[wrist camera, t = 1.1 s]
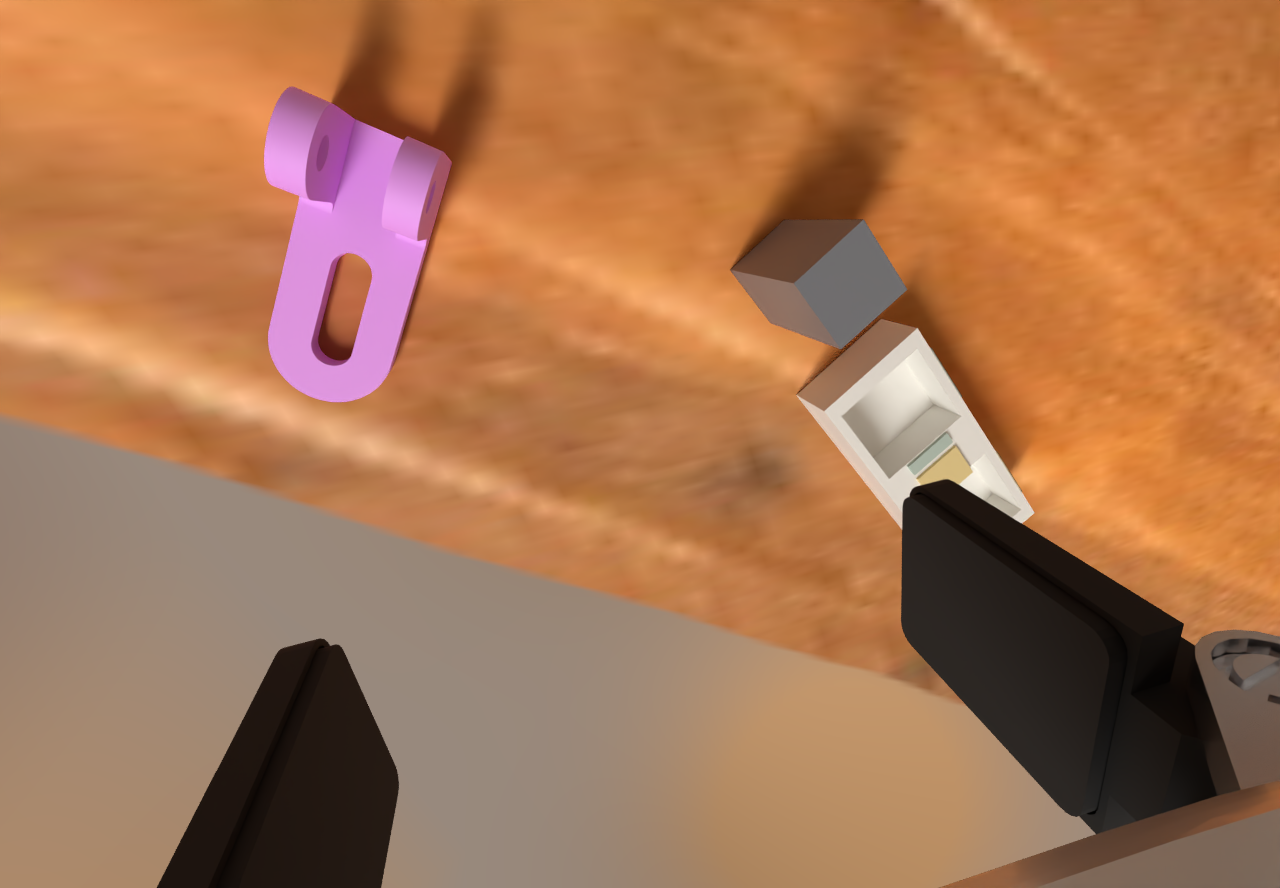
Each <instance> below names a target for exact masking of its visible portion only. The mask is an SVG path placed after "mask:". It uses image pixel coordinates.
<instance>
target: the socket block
mask: <svg viewBox="0 0 1280 888" xmlns="http://www.w3.org/2000/svg"><path fill="white" fill-rule="evenodd" d="M797 397H798V398H799V399H800V400H801V402H802V403H803V404H804V406H805V407H806V408H807V409H808V411H809V412H810V413H811V414H812V416H813V417H814V418H815V420H816V421H817V422H818V423H819V425H820V426H821V427H822V428H823V430H824V431H825V432H826V434H827V435H828V436H829V437H830V439H831V440H832V441H833V442H834V444H835V445H836V446H837V448H838V449H839V450H840V451H841V453H842V454H843V455H844V456H845V458H846V459H847V460H848V462H849V463H850V464H851V465H852V467H853V468H854V469H855V470H856V472H857V473H858V474H859V476H860V477H861V478H862V479H863V481H864V482H865V483H866V484H867V486H868V487H869V488H870V490H871V491H872V492H873V493H874V495H875V496H876V497H877V498H878V500H879V501H880V502H881V504H882V505H883V506H884V507H885V509H886V510H887V511H888V512H889V514H890V515H891V516H892V518H893V519H894V520H895V521H896V523H897V524H898V525H899V526H900V528H901V529H902V507H903V502H904V500H905V499H906V498H907V497H909V496H910V492H911V490H912V489H913V488H914V487H916V486H920V485H924V484H928V483H932V482H935V481H939V480H943V479H949V480H951V481H954V482H955V483H957V484H959V485H960V486H962V487H963V488H965V489H967V490H968V491H970V492H972V493H973V494H975V495H976V496H978V497H980V498H981V499H983V500H984V501H986V502H988V503H989V504H991V505H993V506H994V507H996V508H997V509H999V510H1001V511H1002V512H1004V513H1005V514H1007V515H1009V516H1010V517H1012V518H1014V519H1015V520H1017V521H1018V522H1020V523H1023V522H1024V521H1025V520H1027V519H1028V518H1029V517H1030V516H1031V515H1033V514H1034V511H1033V510H1032V508H1031V506H1030V505H1029V503H1028V502H1027V500H1026V499H1025V497H1024V495H1023V494H1022V490H1021V489H1020V487H1019V485H1018V484H1017V482H1016V481H1015V479H1014V478H1013V476H1012V474H1011V473H1010V471H1009V470H1008V468H1007V466H1006V465H1005V463H1004V462H1003V460H1002V459H1001V457H1000V455H999V454H998V452H997V451H995V450H994V448H993V446H992V445H991V443H990V442H989V440H988V439H987V437H986V435H985V434H984V432H983V431H982V429H981V428H980V426H979V424H978V423H977V421H976V420H975V418H974V417H973V415H972V413H971V412H970V410H969V409H968V407H967V405H966V404H965V402H964V401H963V399H962V398H961V397H962V395H961V394H960V392H959V391H958V389H957V388H956V386H955V384H954V383H953V381H952V380H951V378H950V376H949V375H948V373H947V372H946V370H945V369H944V367H943V365H942V364H941V362H940V361H939V359H938V357H937V356H936V354H935V353H934V351H933V350H932V348H930V347H929V346H928V344H927V342H926V341H925V339H924V338H923V336H922V335H921V333H920V331H919V330H918V328H915V327H911V326H907V325H903V324H899V323H895V322H891V321H887V320H884V319H880V320H879V321H878V322H877V323H876V324H875V325H874V326H873V327H871V328H870V329H869V330H868V331H867V332H866V333H865V334H864V335H862V336H861V337H860V338H859V339H858V340H857V341H856V342H855V343H854V344H852V345H851V346H850V347H849V348H848V349H847V350H846V351H845V352H844V353H842V354H841V355H840V356H839V357H838V358H837V359H836V360H835V361H834V362H832V363H831V364H830V365H829V366H828V367H827V368H826V369H825V370H824V371H822V372H821V373H820V374H819V375H818V376H817V377H816V378H815V379H814V380H812V381H811V382H810V383H809V384H808V385H807V386H806V387H805V388H804V389H802V390H801V391H800V392H799V393H798V394H797Z"/></svg>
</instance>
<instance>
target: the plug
mask: <svg viewBox="0 0 1280 888" xmlns="http://www.w3.org/2000/svg"><path fill="white" fill-rule="evenodd" d="M731 272H732V273H733V274H734V276H735V277H736V278H737V280H738V281H739V282H740V284H741V285H742V286H743V288H744V289H745V290H746V292H747V293H748V294H749V295H750V297H751V298H752V299H753V301H754V302H755V303H756V305H757V306H758V307H759V309H760V310H761V311H762V313H763V314H764V315H765V317H766V318H767V319H768V321H769V322H770V323H772V324H775V325H777V326H780V327H783V328H785V329H788V330H791V331H793V332H796V333H799V334H801V335H804V336H807V337H809V338H812V339H815V340H817V341H820V342H823V343H825V344H828V345H830V346H833V347H836V348H838V349H842V348H843V347H844V346H845V345H846V344H847V343H849V342H850V341H851V340H852V339H853V338H854V337H855V336H856V335H857V334H859V333H860V332H861V331H862V330H863V329H864V328H865V327H866V326H867V325H869V324H870V323H871V322H872V321H873V320H874V319H875V318H876V317H877V316H879V315H880V314H881V313H882V312H883V311H884V310H885V309H886V308H887V307H889V306H890V305H891V304H892V303H893V302H894V301H895V300H896V299H897V298H899V297H900V296H901V295H902V294H903V293H904V292H905V291H906V290H907V288H906V287H905V285H904V283H903V282H902V280H901V279H900V277H899V275H898V274H897V272H896V271H895V269H894V267H893V266H892V264H891V263H890V261H889V259H888V258H887V256H886V255H885V253H884V251H883V250H882V248H881V246H880V245H879V243H878V242H877V240H876V238H875V237H874V235H873V234H872V232H871V230H870V229H869V227H868V226H867V224H866V222H865V221H864V219H844V220H783V221H782V222H781V223H780V224H779V225H778V226H777V227H776V228H775V229H774V230H773V231H772V232H771V233H769V234H768V235H767V236H766V237H765V238H764V239H763V240H762V241H761V242H760V243H759V244H758V245H757V246H755V247H754V248H753V249H752V250H751V251H750V252H749V253H748V254H747V255H746V256H745V257H744V258H743V259H741V260H740V261H739V262H738V263H737V264H736V265H735V266H734V267H733V268H732V269H731Z"/></svg>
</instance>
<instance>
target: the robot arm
mask: <svg viewBox="0 0 1280 888" xmlns="http://www.w3.org/2000/svg"><path fill="white" fill-rule="evenodd" d="M901 623H902V629H903V632H904V634H905V637H906V638H907V640H908V642H909V643H910V644H911V646H912V647H913V648H914V649H915V650H916V651H917V652H918V653H919V654H920V655H921V656H922V657H923V659H924V660H925V661H926V662H927V663H928V664H929V665H930V666H931V667H932V668H933V669H934V671H935V672H936V673H937V674H938V675H939V676H940V677H941V678H942V679H943V680H944V681H945V682H946V684H947V685H948V686H949V687H950V688H951V689H952V690H953V691H954V692H955V693H956V694H957V696H958V697H959V698H960V699H961V700H962V701H963V702H964V703H965V704H966V705H967V706H968V708H969V709H970V710H971V711H972V712H973V713H974V714H975V715H976V716H977V717H978V718H979V719H980V720H981V722H982V723H983V724H984V725H985V726H986V727H987V728H988V729H989V730H990V731H991V733H992V734H993V735H994V736H995V737H996V738H997V739H998V740H999V741H1000V742H1001V743H1002V744H1003V746H1004V747H1005V748H1006V749H1007V750H1008V751H1009V752H1010V753H1011V754H1012V755H1013V756H1014V758H1015V759H1016V760H1017V761H1018V762H1019V763H1020V764H1021V765H1022V766H1023V767H1024V768H1025V769H1026V770H1027V772H1028V773H1029V774H1030V775H1031V776H1032V777H1033V778H1034V779H1035V780H1036V781H1037V782H1038V784H1039V785H1040V786H1041V787H1042V788H1043V789H1044V790H1045V791H1046V792H1047V793H1048V794H1049V795H1050V797H1051V798H1052V799H1053V800H1054V801H1055V802H1056V803H1057V804H1058V805H1059V806H1060V807H1061V808H1062V809H1063V810H1064V811H1065V812H1066V813H1068V814H1070V815H1071V816H1075V817H1077V816H1080V817H1081V818H1082V819H1083V821H1084V822H1085V823H1086V824H1087V825H1088V826H1089V827H1090V828H1091V829H1092V830H1093V831H1094V832H1095V833H1096V835H1093V836H1090V837H1087V838H1084V839H1081V840H1078V841H1075V842H1072V843H1069V844H1066V845H1063V846H1060V847H1057V848H1054V849H1052V850H1049V851H1046V852H1043V853H1040V854H1037V855H1034V856H1031V857H1028V858H1025V859H1022V860H1019V861H1016V862H1013V863H1011V864H1007V865H1005V866H1002V867H999V868H996V869H993V870H990V871H987V872H984V873H981V874H978V875H975V876H972V877H969V878H966V879H963V880H960V881H957V882H955V883H952V884H949V885H946V886H943V887H940V888H1280V637H1279V636H1274V635H1270V634H1265V633H1261V632H1255V631H1243V630H1227V631H1217V632H1213V633H1211V634H1208V635H1206V636H1204V637H1202V638H1201V639H1200V640H1199V642H1198V643H1197V644H1196V645H1193V644H1191V643H1190V642H1188V641H1187V640H1185V639H1184V638H1182V637H1181V634H1182V630H1183V626H1184V624H1183V623H1182V622H1180V621H1178V620H1177V619H1175V618H1174V617H1172V616H1170V615H1169V614H1167V613H1165V612H1164V611H1162V610H1161V609H1159V608H1157V607H1156V606H1154V605H1153V604H1151V603H1149V602H1148V601H1146V600H1144V599H1143V598H1141V597H1140V596H1138V595H1136V594H1135V593H1133V592H1132V591H1130V590H1128V589H1127V588H1125V587H1123V586H1122V585H1120V584H1119V583H1117V582H1115V581H1114V580H1112V579H1111V578H1109V577H1107V576H1106V575H1104V574H1102V573H1101V572H1099V571H1098V570H1096V569H1094V568H1093V567H1091V566H1090V565H1088V564H1086V563H1085V562H1083V561H1081V560H1080V559H1078V558H1077V557H1075V556H1073V555H1072V554H1070V553H1069V552H1067V551H1065V550H1064V549H1062V548H1060V547H1059V546H1057V545H1056V544H1054V543H1052V542H1051V541H1049V540H1047V539H1046V538H1044V537H1043V536H1041V535H1039V534H1038V533H1036V532H1035V531H1033V530H1031V529H1030V528H1028V527H1026V526H1025V525H1023V524H1022V523H1020V522H1018V521H1017V520H1015V519H1014V518H1012V517H1010V516H1009V515H1007V514H1005V513H1004V512H1002V511H1001V510H999V509H997V508H996V507H994V506H993V505H991V504H989V503H988V502H986V501H984V500H983V499H981V498H980V497H978V496H976V495H975V494H973V493H972V492H970V491H968V490H967V489H965V488H963V487H962V486H960V485H959V484H957V483H955V482H954V481H951V480H949V479H943V480H939V481H935V482H932V483H928V484H924V485H920V486H916V487H914V488H913V489H912V490H911V492H910V496H909V497H907V498H906V499H905V500H904V502H903V507H902V602H901ZM398 790H399V781H398V774H397V769H396V766H395V764H394V762H393V759H392V757H391V755H390V753H389V750H388V748H387V746H386V744H385V742H384V740H383V737H382V735H381V733H380V730H379V728H378V726H377V724H376V722H375V719H374V717H373V715H372V713H371V711H370V708H369V706H368V704H367V702H366V700H365V697H364V695H363V693H362V691H361V689H360V686H359V684H358V682H357V679H356V677H355V675H354V673H353V671H352V669H351V666H350V664H349V662H348V659H347V657H346V655H345V653H344V651H343V649H342V647H340V646H339V645H332V646H330V645H329V644H328V642H327V641H326V640H325V639H316V640H313V641H308V642H305V643H301V644H297V645H293V646H289V647H286V648H283V649H280V650H279V651H278V653H277V654H276V656H275V658H274V660H273V662H272V664H271V666H270V668H269V669H268V672H267V674H266V676H265V677H264V679H263V681H262V683H261V685H260V687H259V689H258V691H257V693H256V695H255V697H254V699H253V701H252V703H251V705H250V707H249V709H248V711H247V713H246V715H245V717H244V719H243V720H242V723H241V724H240V727H239V728H238V730H237V732H236V735H235V737H234V738H233V740H232V742H231V744H230V746H229V748H228V750H227V752H226V754H225V756H224V758H223V760H222V762H221V764H220V766H219V768H218V770H217V771H216V773H215V775H214V777H213V779H212V781H211V782H210V784H209V786H208V788H207V790H206V792H205V794H204V796H203V798H202V800H201V802H200V804H199V806H198V808H197V810H196V812H195V814H194V816H193V818H192V820H191V822H190V824H189V826H188V828H187V830H186V832H185V833H184V835H183V837H182V839H181V841H180V843H179V845H178V847H177V849H176V851H175V853H174V855H173V857H172V859H171V861H170V863H169V865H168V867H167V869H166V871H165V873H164V875H163V876H162V879H161V881H160V882H159V885H158V886H157V888H381V885H382V879H383V874H384V868H385V863H386V857H387V852H388V846H389V841H390V835H391V830H392V824H393V819H394V813H395V808H396V802H397V796H398Z"/></svg>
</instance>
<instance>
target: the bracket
mask: <svg viewBox="0 0 1280 888" xmlns="http://www.w3.org/2000/svg"><path fill="white" fill-rule="evenodd" d="M451 165H452V162H451V160H450V159H449V158H448V157H447V155H446V154H445V153H444V152H443V151H441V150H439V149H436V148H434V147H432V146H429V145H427V144H425V143H422V142H420V141H418V140H415V139H413V138H411V137H409V136H407V137H406V138H405V139H404V140H402V139H400V138H398V137H395V136H393V135H391V134H388V133H386V132H384V131H381V130H379V129H377V128H374V127H372V126H370V125H367V124H365V123H363V122H360V121H358V120H356V119H354V118H353V117H351V116H350V115H349V114H347V113H346V112H344V111H343V110H342V109H340V108H339V107H337V106H336V105H335V104H332V103H330V102H328V101H325V100H323V99H321V98H318V97H316V96H314V95H312V94H309V93H307V92H305V91H302V90H300V89H298V88H295V87H289V88H287V89H286V90H285V91H284V92H283V93H282V95H281V96H280V98H279V100H278V102H277V104H276V106H275V108H274V111H273V114H272V116H271V120H270V123H269V127H268V132H267V137H266V143H265V154H264V166H265V173H266V177H267V180H268V182H269V183H270V184H271V185H272V186H275V187H277V188H280V189H283V190H285V191H288V192H290V193H293V194H296V195H298V196H299V203H298V207H297V211H296V216H295V220H294V224H293V228H292V233H291V237H290V241H289V246H288V250H287V254H286V258H285V263H284V267H283V271H282V276H281V280H280V284H279V288H278V293H277V297H276V301H275V306H274V310H273V314H272V318H271V323H270V327H269V333H268V344H269V350H270V354H271V357H272V360H273V362H274V364H275V366H276V368H277V369H278V371H279V372H280V373H281V375H282V376H283V377H284V378H285V379H286V381H288V382H289V383H290V384H291V385H292V386H293V387H295V388H296V389H297V390H299V391H301V392H302V393H304V394H306V395H308V396H310V397H313V398H316V399H319V400H323V401H329V402H346V401H352V400H356V399H359V398H361V397H364V396H366V395H368V394H369V393H371V392H372V391H374V390H375V389H376V388H377V387H378V386H379V385H380V384H381V383H382V382H383V381H384V379H385V378H386V377H387V375H388V374H389V372H390V371H391V369H392V367H393V364H394V361H395V358H396V355H397V351H398V348H399V344H400V341H401V337H402V334H403V330H404V327H405V324H406V320H407V317H408V313H409V310H410V306H411V303H412V299H413V296H414V293H415V289H416V286H417V282H418V279H419V275H420V272H421V268H422V265H423V261H424V258H425V255H426V251H427V248H428V244H429V241H430V237H431V234H432V230H433V227H434V223H435V220H436V217H437V213H438V210H439V206H440V203H441V199H442V196H443V192H444V189H445V186H446V182H447V179H448V175H449V172H450V168H451ZM346 253H353V254H356V255H359V256H360V257H362V258H363V259H365V260H366V262H367V263H368V264H369V266H370V268H371V270H372V282H371V285H370V289H369V293H368V296H367V300H366V304H365V307H364V311H363V315H362V318H361V322H360V326H359V330H358V333H357V337H356V341H355V344H354V348H353V352H352V355H351V357H350V358H349V359H346V360H334V359H331V358H329V357H327V356H326V355H325V354H324V353H323V352H322V351H321V349H320V347H319V344H318V336H319V332H320V328H321V324H322V320H323V317H324V313H325V309H326V305H327V301H328V297H329V293H330V289H331V285H332V281H333V277H334V273H335V269H336V265H337V262H338V260H339V259H340V257H341V256H343V255H344V254H346Z"/></svg>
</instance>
